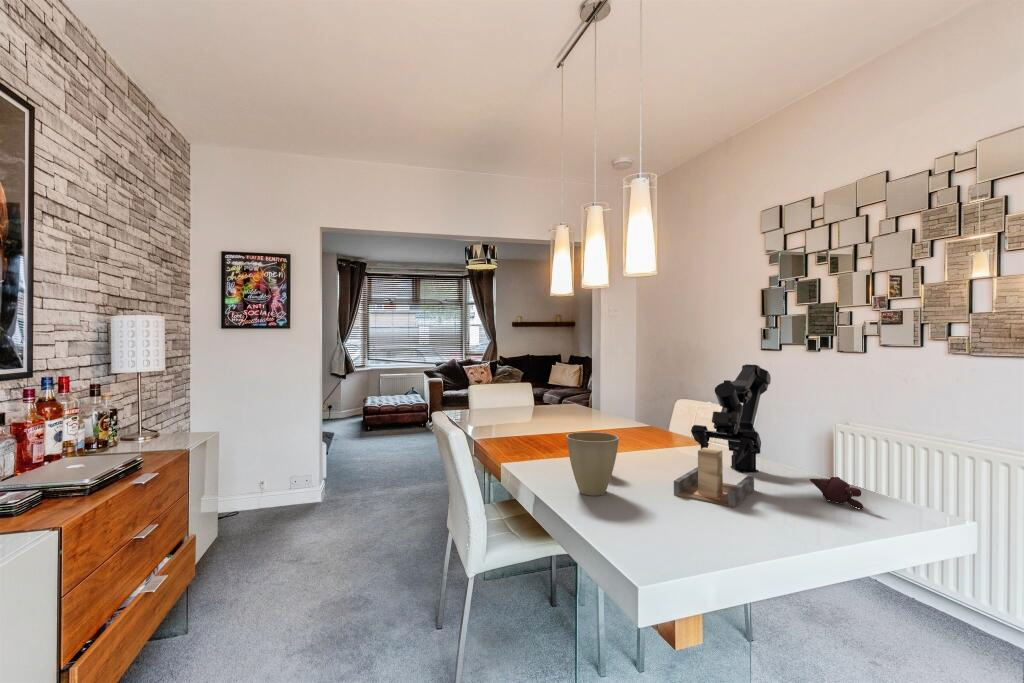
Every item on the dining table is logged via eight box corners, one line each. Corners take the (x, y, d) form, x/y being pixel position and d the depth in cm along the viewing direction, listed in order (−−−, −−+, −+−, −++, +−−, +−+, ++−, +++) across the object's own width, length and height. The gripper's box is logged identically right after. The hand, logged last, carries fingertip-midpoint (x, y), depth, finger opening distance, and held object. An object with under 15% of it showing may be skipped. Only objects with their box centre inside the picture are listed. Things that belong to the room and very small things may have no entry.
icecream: (797, 472, 131) (848, 493, 117) (818, 463, 133) (871, 483, 119) (801, 494, 132) (852, 518, 118) (822, 486, 134) (874, 508, 120)
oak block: (704, 489, 135) (704, 447, 135) (722, 493, 131) (722, 450, 132) (698, 493, 131) (697, 450, 131) (716, 497, 128) (716, 453, 128)
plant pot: (619, 502, 126) (619, 442, 126) (564, 498, 129) (564, 440, 129) (618, 485, 141) (618, 432, 141) (568, 482, 144) (568, 430, 144)
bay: (697, 479, 146) (697, 466, 146) (754, 490, 136) (753, 476, 136) (673, 494, 132) (673, 480, 132) (734, 507, 121) (734, 492, 121)
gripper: (692, 398, 147) (679, 440, 139) (758, 403, 135) (748, 449, 127) (701, 420, 153) (689, 461, 145) (765, 427, 141) (756, 472, 133)
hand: (718, 460), depth 137 cm, fingers open, 9 cm apart
